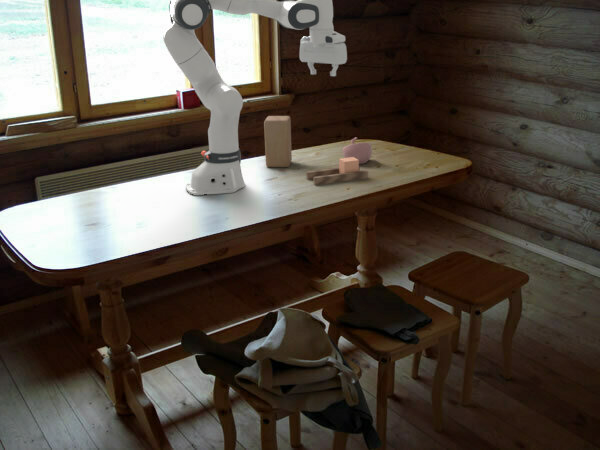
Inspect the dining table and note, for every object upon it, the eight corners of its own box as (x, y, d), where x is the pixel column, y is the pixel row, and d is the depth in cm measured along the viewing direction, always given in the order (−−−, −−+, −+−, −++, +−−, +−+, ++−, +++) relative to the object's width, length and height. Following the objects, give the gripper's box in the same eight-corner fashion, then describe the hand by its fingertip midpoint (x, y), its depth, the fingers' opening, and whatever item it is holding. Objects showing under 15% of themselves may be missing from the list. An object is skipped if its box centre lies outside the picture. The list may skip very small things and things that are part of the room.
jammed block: (344, 179, 249) (344, 161, 246) (339, 176, 253) (339, 158, 251) (358, 177, 251) (358, 160, 248) (353, 174, 255) (353, 157, 253)
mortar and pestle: (364, 159, 279) (364, 133, 275) (376, 166, 268) (376, 139, 264) (338, 162, 276) (338, 136, 272) (349, 170, 265) (349, 142, 261)
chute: (314, 188, 243) (314, 178, 242) (306, 181, 251) (306, 171, 250) (367, 181, 250) (367, 171, 249) (357, 174, 258) (358, 165, 257)
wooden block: (292, 161, 279) (290, 115, 272) (289, 168, 270) (288, 120, 263) (269, 161, 280) (267, 115, 273) (265, 167, 271) (263, 120, 264)
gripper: (294, 37, 242) (296, 74, 247) (338, 38, 229) (339, 78, 234) (305, 35, 246) (307, 72, 251) (349, 36, 233) (349, 75, 238)
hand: (323, 75), depth 242 cm, fingers open, 8 cm apart
